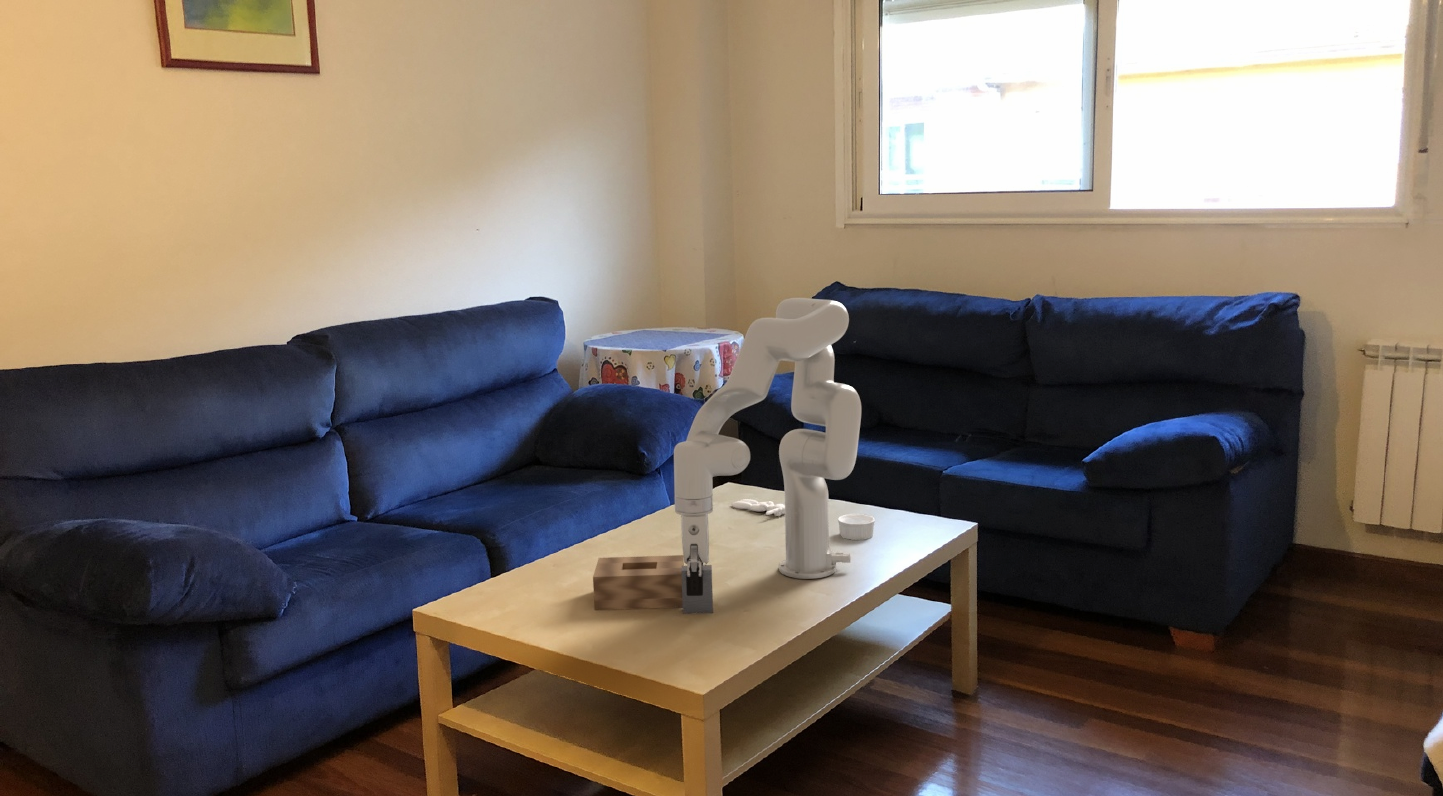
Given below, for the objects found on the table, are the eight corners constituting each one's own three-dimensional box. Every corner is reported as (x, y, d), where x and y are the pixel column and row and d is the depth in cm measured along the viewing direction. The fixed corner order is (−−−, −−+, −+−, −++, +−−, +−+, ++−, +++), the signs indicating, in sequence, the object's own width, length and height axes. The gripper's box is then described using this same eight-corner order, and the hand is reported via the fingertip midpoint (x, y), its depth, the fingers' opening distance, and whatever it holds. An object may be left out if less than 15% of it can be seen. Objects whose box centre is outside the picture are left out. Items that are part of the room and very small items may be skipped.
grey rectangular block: (712, 607, 222) (711, 564, 221) (713, 612, 219) (711, 569, 218) (683, 608, 222) (681, 565, 221) (682, 613, 219) (681, 570, 218)
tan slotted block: (684, 586, 235) (683, 555, 233) (683, 607, 223) (682, 574, 221) (600, 589, 234) (598, 557, 233) (594, 609, 223) (592, 577, 221)
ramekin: (839, 529, 271) (839, 512, 271) (876, 531, 270) (876, 514, 269) (836, 540, 263) (836, 523, 262) (873, 542, 261) (873, 524, 260)
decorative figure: (719, 504, 291) (769, 508, 279) (749, 495, 300) (800, 498, 287) (720, 517, 292) (771, 521, 279) (751, 507, 300) (801, 511, 288)
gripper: (712, 515, 208) (714, 601, 211) (712, 492, 225) (713, 572, 228) (673, 516, 208) (675, 602, 211) (676, 493, 225) (677, 573, 228)
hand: (695, 586), depth 219 cm, fingers open, 9 cm apart
